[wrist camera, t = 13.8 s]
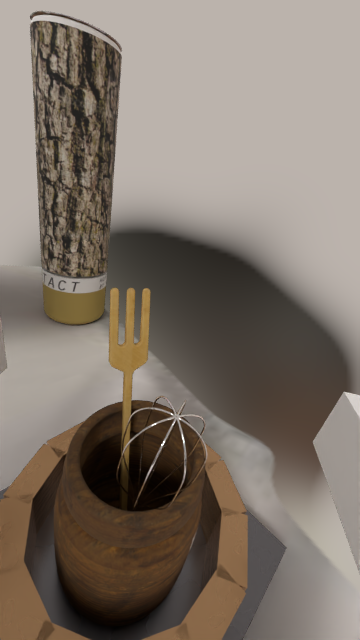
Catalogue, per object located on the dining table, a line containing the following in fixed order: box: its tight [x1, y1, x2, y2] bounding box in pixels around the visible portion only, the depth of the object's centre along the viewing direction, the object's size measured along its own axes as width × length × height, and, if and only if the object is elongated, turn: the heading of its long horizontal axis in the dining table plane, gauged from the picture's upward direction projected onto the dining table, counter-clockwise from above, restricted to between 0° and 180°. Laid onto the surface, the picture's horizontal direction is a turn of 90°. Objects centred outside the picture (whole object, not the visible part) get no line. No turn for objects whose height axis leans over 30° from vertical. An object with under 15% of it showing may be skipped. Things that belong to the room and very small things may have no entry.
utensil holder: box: [54, 288, 207, 626], centre depth 11 cm, size 6×6×12 cm
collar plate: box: [0, 421, 286, 640], centre depth 13 cm, size 12×12×4 cm
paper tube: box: [30, 11, 122, 325], centre depth 28 cm, size 7×7×25 cm
